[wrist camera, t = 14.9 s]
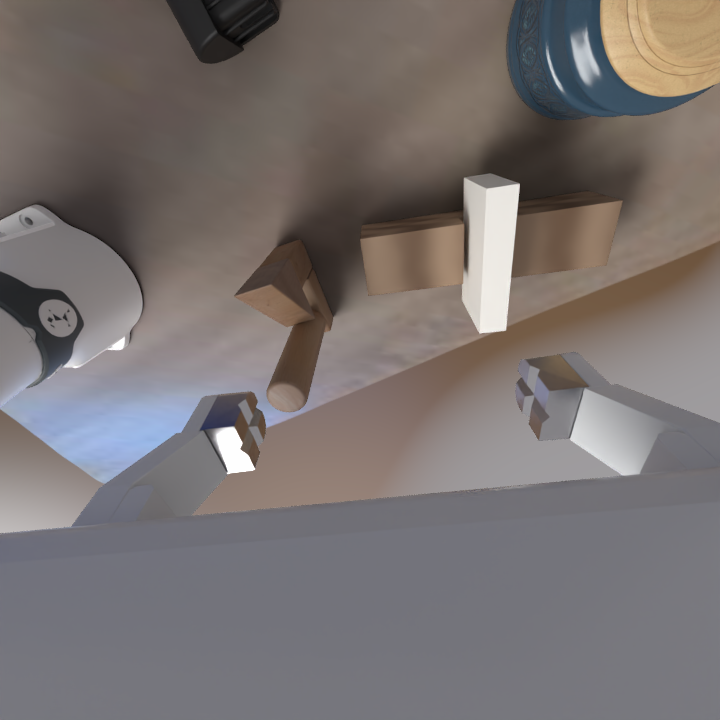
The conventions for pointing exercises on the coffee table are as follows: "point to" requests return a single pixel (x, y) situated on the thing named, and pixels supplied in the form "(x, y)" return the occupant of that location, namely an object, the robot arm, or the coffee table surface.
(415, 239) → the walnut crossbar
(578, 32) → the canister
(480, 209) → the white rectangular slab
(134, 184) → the coffee table surface
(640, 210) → the coffee table surface
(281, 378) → the wooden block
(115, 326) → the robot arm
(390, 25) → the coffee table surface
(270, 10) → the end cap
